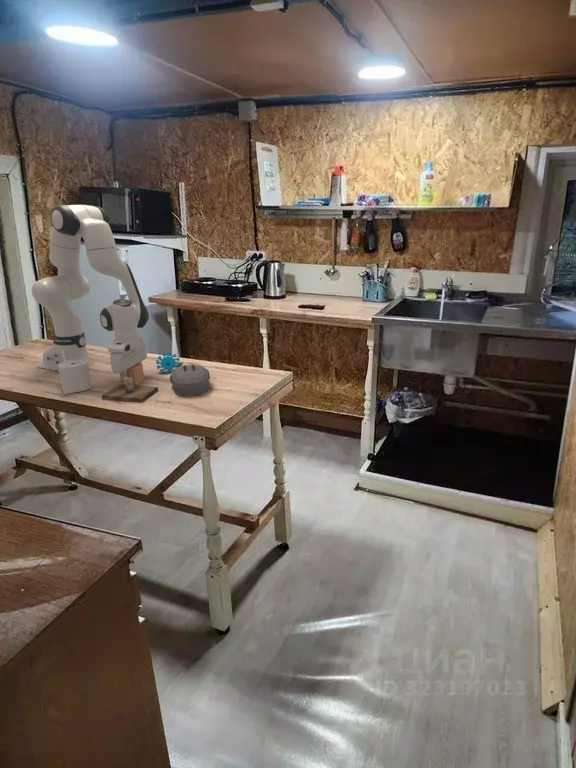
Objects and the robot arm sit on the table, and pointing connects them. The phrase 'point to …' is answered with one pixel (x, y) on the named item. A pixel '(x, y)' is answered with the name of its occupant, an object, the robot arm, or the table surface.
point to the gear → (168, 363)
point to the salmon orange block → (135, 374)
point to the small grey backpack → (190, 380)
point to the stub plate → (130, 392)
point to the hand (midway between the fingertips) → (132, 376)
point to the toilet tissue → (74, 375)
